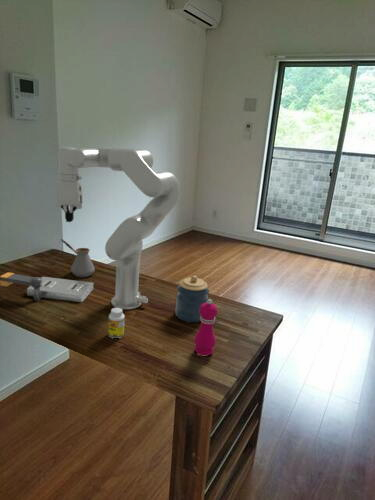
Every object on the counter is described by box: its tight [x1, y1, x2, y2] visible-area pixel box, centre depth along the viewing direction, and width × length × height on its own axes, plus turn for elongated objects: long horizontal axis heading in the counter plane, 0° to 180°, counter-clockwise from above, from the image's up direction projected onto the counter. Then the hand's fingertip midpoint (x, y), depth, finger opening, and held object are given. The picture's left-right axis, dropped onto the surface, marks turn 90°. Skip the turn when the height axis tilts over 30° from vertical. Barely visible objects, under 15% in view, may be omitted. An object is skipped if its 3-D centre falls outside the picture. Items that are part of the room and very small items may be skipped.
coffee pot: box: [59, 238, 96, 278], centre depth 185 cm, size 21×12×15 cm, turn 58°
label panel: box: [26, 276, 94, 303], centre depth 163 cm, size 24×14×3 cm, turn 84°
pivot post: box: [33, 287, 41, 302], centre depth 154 cm, size 2×2×6 cm
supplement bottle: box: [107, 307, 125, 339], centre depth 133 cm, size 6×6×10 cm
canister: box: [174, 275, 210, 323], centre depth 151 cm, size 13×13×18 cm
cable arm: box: [0, 272, 42, 288], centre depth 154 cm, size 17×5×4 cm, turn 78°
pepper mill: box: [194, 298, 218, 355], centre depth 126 cm, size 7×7×20 cm
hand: (69, 221), depth 159 cm, fingers closed
